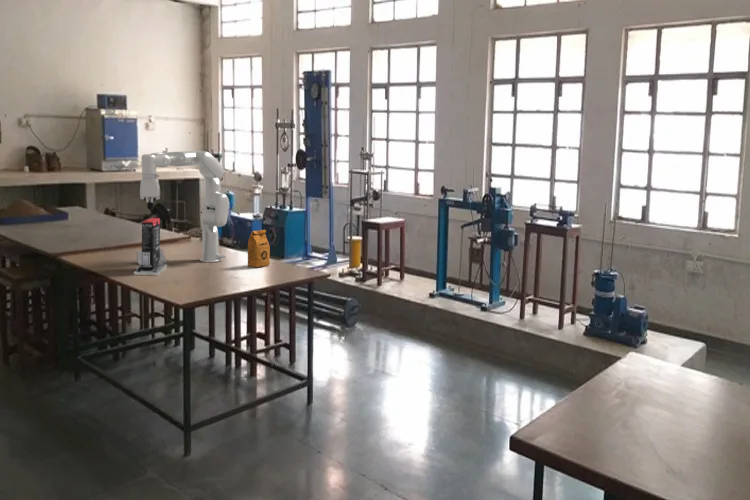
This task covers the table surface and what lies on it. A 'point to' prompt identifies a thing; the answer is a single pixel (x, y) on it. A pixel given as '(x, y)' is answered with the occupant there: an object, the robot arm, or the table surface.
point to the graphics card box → (151, 243)
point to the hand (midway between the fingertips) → (150, 209)
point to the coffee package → (258, 249)
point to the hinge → (139, 257)
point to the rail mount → (150, 270)
